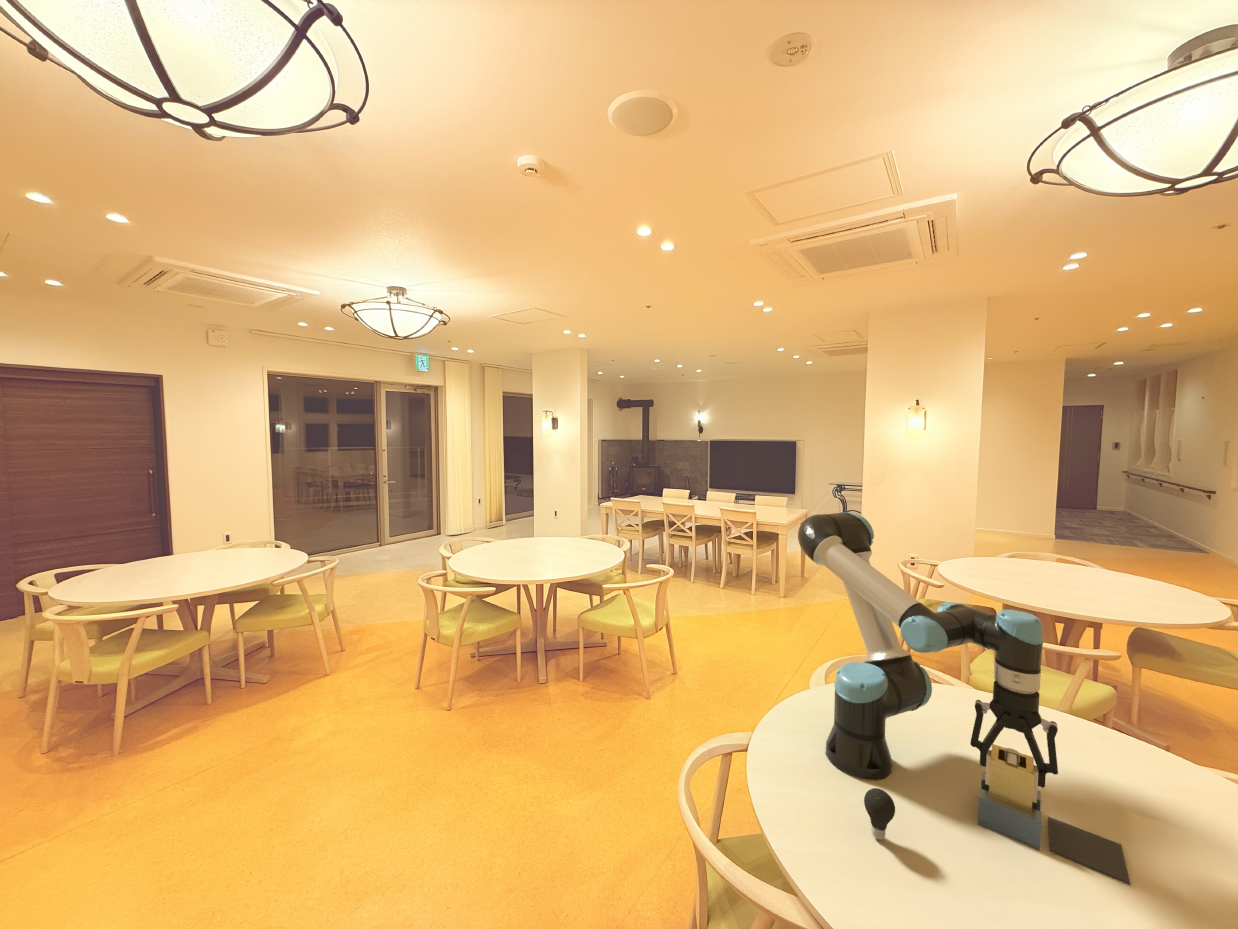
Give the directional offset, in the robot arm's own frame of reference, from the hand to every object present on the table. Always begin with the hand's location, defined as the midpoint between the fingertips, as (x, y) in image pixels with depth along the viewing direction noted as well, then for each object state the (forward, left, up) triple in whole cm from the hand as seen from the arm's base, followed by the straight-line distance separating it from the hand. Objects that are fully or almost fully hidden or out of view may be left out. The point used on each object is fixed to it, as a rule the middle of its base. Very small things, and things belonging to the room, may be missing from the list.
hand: (1010, 789), depth 103 cm
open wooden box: (0, 0, -1) cm, 1 cm away
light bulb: (-20, -24, -7) cm, 32 cm away
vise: (0, +3, -7) cm, 8 cm away
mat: (+12, +1, -7) cm, 14 cm away
